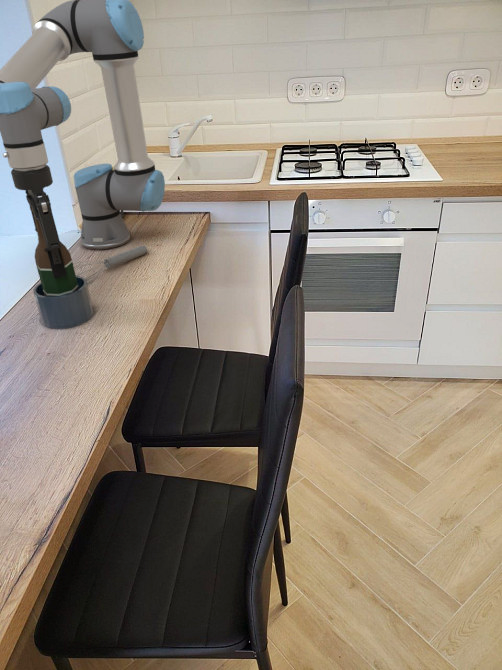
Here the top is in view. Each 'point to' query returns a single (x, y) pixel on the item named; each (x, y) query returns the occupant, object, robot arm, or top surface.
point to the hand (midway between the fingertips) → (56, 269)
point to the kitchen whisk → (118, 259)
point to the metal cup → (64, 306)
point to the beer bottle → (48, 282)
